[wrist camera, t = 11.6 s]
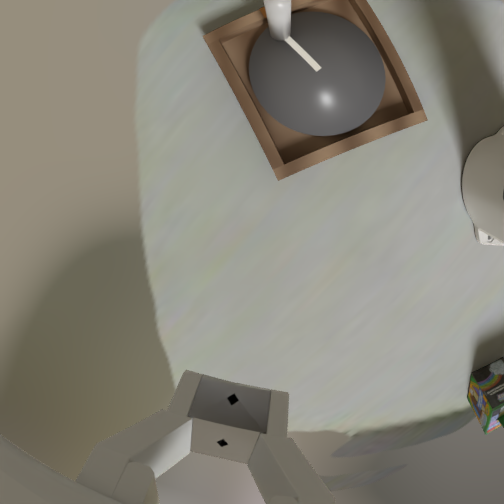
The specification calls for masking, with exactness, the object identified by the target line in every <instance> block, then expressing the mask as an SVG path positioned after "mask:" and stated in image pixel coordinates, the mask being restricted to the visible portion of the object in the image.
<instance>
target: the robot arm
mask: <svg viewBox="0 0 504 504" xmlns="http://www.w3.org/2000/svg"><path fill="white" fill-rule="evenodd" d="M462 192H463V199H464V203H465V206H466V209H467V212H468V214H469V215H470V217H471V219H472V221H473V223H474V227H475V235H476V239H477V241H478V242H479V243H481V244H486V245H504V126H503V127H502V128H501V129H500V130H499V131H498V132H497V134H495V135H493V136H490V137H487V138H485V139H483V140H481V141H480V142H479V143H477V144H476V145H475V147H474V148H473V149H472V151H471V152H470V154H469V156H468V158H467V161H466V164H465V167H464V171H463V178H462ZM488 236H489V238H488ZM288 407H289V394H288V392H282V391H277V390H270V389H266V388H260V387H255V386H250V385H245V384H240V383H234V382H230V381H226V380H222V379H218V378H215V377H211V376H207V375H204V374H199V373H196V372H192V371H189V370H185V372H184V373H183V375H182V377H181V379H180V382H179V384H178V386H177V389H176V391H175V393H174V396H173V398H172V400H171V403H170V405H169V408H168V410H163V409H161V410H160V411H158V412H156V413H154V414H152V415H151V416H149V417H147V418H145V419H143V420H141V421H140V422H138V423H136V424H134V425H132V426H130V427H128V428H126V429H125V430H123V431H121V432H119V433H117V434H115V435H113V436H111V437H109V438H107V439H105V440H103V441H101V442H99V443H97V444H96V445H95V446H94V449H93V450H92V452H91V454H90V456H89V457H88V459H87V461H86V463H85V465H84V466H83V468H82V470H81V472H80V474H79V476H78V477H77V479H76V481H74V480H71V479H70V478H68V477H66V476H64V475H62V474H61V473H59V472H57V471H55V470H53V469H52V468H50V467H48V466H47V465H45V464H43V463H42V462H40V461H39V460H37V459H35V458H34V457H32V456H31V455H29V454H28V453H26V452H25V451H23V450H22V449H20V448H19V447H17V446H16V445H15V444H13V443H12V442H10V441H9V440H8V439H6V438H5V437H4V436H2V435H1V434H0V504H159V497H158V491H157V486H156V481H155V479H156V478H157V477H158V476H160V475H161V474H162V473H164V472H165V471H167V470H168V469H169V468H171V467H172V466H173V465H175V464H176V463H177V462H179V461H180V460H181V459H182V458H184V457H185V456H186V455H187V454H189V453H190V451H192V452H196V453H201V454H205V455H209V456H214V457H219V458H224V459H228V460H231V461H236V462H240V463H245V464H248V468H249V470H250V472H251V474H252V476H253V478H254V480H255V483H256V485H257V487H258V489H259V491H260V493H261V495H262V497H263V499H264V501H265V503H266V504H335V497H334V496H333V495H332V493H331V492H330V491H329V489H328V488H327V487H326V485H325V484H324V483H323V481H322V480H321V478H320V477H319V476H318V474H317V473H316V472H315V470H314V469H313V467H312V466H311V465H310V463H309V462H308V460H307V459H306V457H305V456H304V455H303V454H302V452H301V450H300V449H299V448H298V446H297V445H296V443H295V442H294V440H293V439H292V438H288V437H287V427H288ZM219 455H220V456H219Z"/></svg>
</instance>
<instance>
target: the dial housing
mask: <svg viewBox="0 0 504 504" xmlns="http://www.w3.org/2000/svg"><path fill="white" fill-rule="evenodd" d="M311 11H312V12H323V13H329V14H333V15H336V16H339V17H341V18H343V19H346V20H348V21H349V22H351V23H353V24H354V25H356V26H357V27H358V28H360V29H361V30H362V31H363V32H364V33H365V34H366V35H367V36H368V37H369V38H370V39H371V40H372V42H373V43H374V45H375V46H376V48H377V49H378V51H379V53H380V55H381V58H382V61H383V64H384V69H385V80H386V81H385V90H384V94H383V97H382V100H381V102H380V104H379V106H378V108H377V109H376V111H375V112H374V113H373V114H372V116H371V117H370V118H369V119H368V120H367V121H365V122H364V123H363V124H361V125H360V126H358V127H357V128H355V129H353V130H351V131H348V132H345V133H342V134H337V135H330V136H314V135H308V134H303V133H300V132H297V131H294V130H292V129H290V128H288V127H286V126H284V125H282V124H281V123H279V122H278V121H277V120H275V119H274V118H273V117H272V116H271V115H270V114H269V113H268V112H267V111H266V110H265V109H264V108H263V106H262V105H261V104H260V102H259V101H258V99H257V97H256V95H255V93H254V91H253V88H252V85H251V82H250V76H249V61H250V56H251V52H252V49H253V47H254V45H255V42H256V41H257V39H258V38H259V36H260V35H261V34H262V33H263V32H264V30H265V29H266V28H268V27H269V25H268V20H267V15H266V10H265V7H262V8H260V9H259V10H257V11H255V12H252V13H250V14H248V15H245V16H243V17H241V18H239V19H236V20H234V21H232V22H230V23H228V24H226V25H224V26H222V27H220V28H218V29H216V30H214V31H212V32H210V33H208V34H206V35H204V36H203V38H204V40H205V41H206V43H207V45H208V47H209V48H210V50H211V52H212V54H213V55H214V57H215V59H216V61H217V63H218V64H219V66H220V68H221V70H222V72H223V74H224V75H225V77H226V79H227V81H228V83H229V85H230V86H231V88H232V90H233V92H234V94H235V96H236V98H237V100H238V102H239V103H240V105H241V107H242V109H243V111H244V113H245V115H246V117H247V119H248V121H249V123H250V125H251V127H252V129H253V131H254V132H255V134H256V136H257V138H258V140H259V142H260V144H261V146H262V148H263V150H264V152H265V155H266V157H267V159H268V161H269V163H270V165H271V167H272V169H273V171H274V173H275V175H276V177H277V179H278V181H279V180H281V179H283V178H285V177H288V176H290V175H292V174H294V173H297V172H299V171H301V170H304V169H306V168H308V167H311V166H313V165H315V164H318V163H320V162H322V161H325V160H327V159H329V158H332V157H334V156H337V155H339V154H341V153H344V152H346V151H349V150H351V149H354V148H356V147H359V146H361V145H364V144H366V143H369V142H371V141H374V140H376V139H379V138H381V137H384V136H387V135H389V134H392V133H394V132H397V131H400V130H402V129H405V128H408V127H410V126H413V125H416V124H419V123H421V122H424V121H427V117H426V115H425V112H424V110H423V107H422V105H421V102H420V100H419V98H418V95H417V93H416V91H415V88H414V86H413V84H412V82H411V80H410V78H409V75H408V73H407V71H406V69H405V67H404V65H403V63H402V61H401V59H400V57H399V55H398V53H397V51H396V50H395V48H394V46H393V44H392V42H391V40H390V39H389V37H388V35H387V33H386V32H385V30H384V28H383V26H382V25H381V23H380V21H379V20H378V18H377V16H376V15H375V13H374V12H373V10H372V8H371V7H370V5H369V4H368V2H367V1H366V0H291V14H295V13H300V12H311Z"/></svg>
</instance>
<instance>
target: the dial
mask: <svg viewBox="0 0 504 504" xmlns="http://www.w3.org/2000/svg"><path fill="white" fill-rule="evenodd" d="M264 5H265V10H266V15H267V20H268V25H269V27H268V28H266V29H265V30H264V32H263V33H262V34H261V35H260V36H259V38H258V39H257V41H256V42H255V45H254V47H253V49H252V52H251V56H250V61H249V76H250V82H251V85H252V88H253V91H254V93H255V95H256V97H257V99H258V101H259V102H260V104H261V105H262V106H263V108H264V109H265V110H266V111H267V112H268V113H269V114H270V115H271V116H272V117H273V118H274V119H275V120H277V121H278V122H279V123H281V124H282V125H284V126H286V127H288V128H290V129H292V130H294V131H297V132H300V133H303V134H308V135H314V136H330V135H337V134H342V133H345V132H348V131H351V130H353V129H355V128H357V127H358V126H360V125H361V124H363V123H364V122H365V121H367V120H368V119H369V118H370V117H371V116H372V114H373V113H374V112H375V111H376V109H377V108H378V106H379V104H380V102H381V100H382V97H383V94H384V90H385V81H386V80H385V69H384V64H383V61H382V58H381V55H380V53H379V51H378V49H377V48H376V46H375V45H374V43H373V42H372V40H371V39H370V38H369V37H368V36H367V35H366V34H365V33H364V32H363V31H362V30H361V29H360V28H358V27H357V26H356V25H354V24H353V23H351V22H349V21H348V20H346V19H343V18H341V17H339V16H336V15H333V14H329V13H323V12H312V11H311V12H300V13H295V14H291V0H264Z"/></svg>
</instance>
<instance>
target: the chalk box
mask: <svg viewBox="0 0 504 504" xmlns="http://www.w3.org/2000/svg"><path fill="white" fill-rule="evenodd" d="M468 401H469V403H470V405H471V407H472V409H473V411H474V413H475V414H476V416H477V418H478V420H479V422H480V424H481V426H482V428H483V431H484V432H485V434H488V433H490V432H492V431H494V430H495V429H497V428H499V427H501V426H503V427H504V357H503V358H501V359H499V360H497V361H495V362H494V363H492V364H490V365H488V366H486V367H484V368H482V369H480V370H477V371H475V372H473V373H472V374H471V380H470V386H469V393H468Z"/></svg>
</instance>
